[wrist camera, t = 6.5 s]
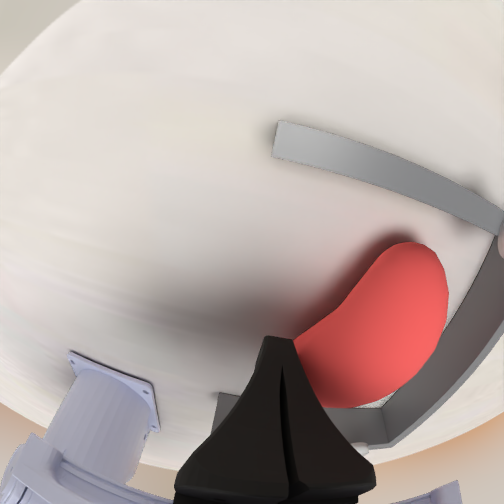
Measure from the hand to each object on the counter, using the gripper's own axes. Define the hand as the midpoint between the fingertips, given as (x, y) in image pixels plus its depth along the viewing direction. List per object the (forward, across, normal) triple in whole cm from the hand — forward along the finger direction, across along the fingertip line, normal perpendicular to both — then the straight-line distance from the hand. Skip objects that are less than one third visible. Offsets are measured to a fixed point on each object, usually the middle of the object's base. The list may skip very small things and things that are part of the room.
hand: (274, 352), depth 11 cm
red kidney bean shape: (+3, -4, -1) cm, 5 cm away
